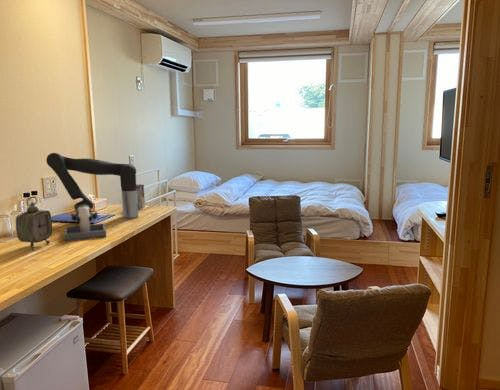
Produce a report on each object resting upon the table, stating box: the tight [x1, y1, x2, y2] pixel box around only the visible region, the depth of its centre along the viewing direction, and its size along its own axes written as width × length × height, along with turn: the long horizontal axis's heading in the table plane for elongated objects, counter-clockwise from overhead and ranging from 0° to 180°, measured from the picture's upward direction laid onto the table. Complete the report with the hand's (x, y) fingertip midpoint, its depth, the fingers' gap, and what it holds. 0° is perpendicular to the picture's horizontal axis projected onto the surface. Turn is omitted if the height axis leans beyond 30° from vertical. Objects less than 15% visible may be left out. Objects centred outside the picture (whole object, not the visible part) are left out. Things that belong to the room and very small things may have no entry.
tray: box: [64, 223, 107, 242], centre depth 220 cm, size 20×15×4 cm
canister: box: [78, 207, 91, 232], centre depth 218 cm, size 5×5×13 cm
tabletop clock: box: [15, 196, 53, 252], centre depth 198 cm, size 14×9×25 cm, turn 168°
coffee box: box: [136, 184, 146, 211], centre depth 281 cm, size 9×6×16 cm
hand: (84, 219), depth 216 cm, fingers closed on canister, 5 cm apart
